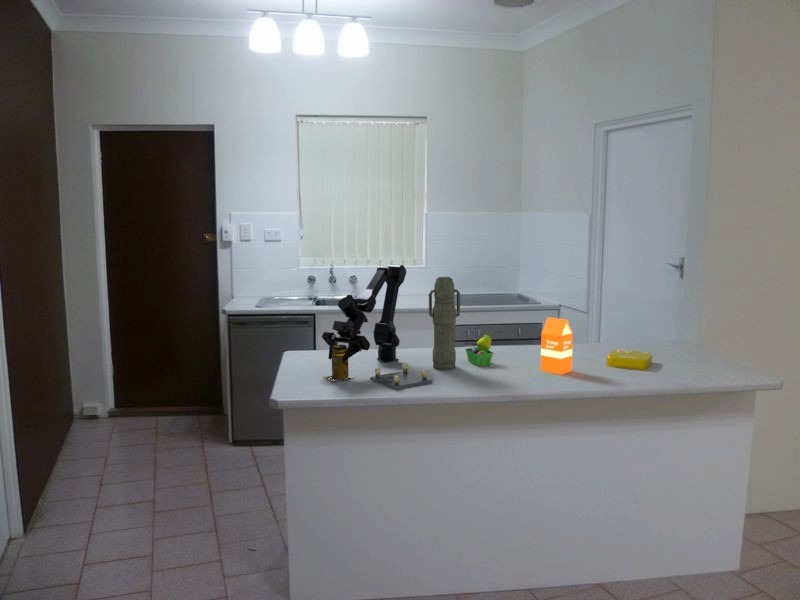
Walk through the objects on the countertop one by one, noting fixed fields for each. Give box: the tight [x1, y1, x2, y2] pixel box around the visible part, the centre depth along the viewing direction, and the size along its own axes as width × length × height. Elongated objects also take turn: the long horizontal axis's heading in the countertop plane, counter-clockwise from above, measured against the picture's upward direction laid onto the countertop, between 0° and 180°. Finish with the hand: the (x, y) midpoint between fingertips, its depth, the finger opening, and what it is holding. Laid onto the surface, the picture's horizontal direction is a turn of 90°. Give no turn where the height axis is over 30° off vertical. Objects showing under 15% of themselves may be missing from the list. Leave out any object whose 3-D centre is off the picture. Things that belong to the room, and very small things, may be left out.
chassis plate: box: [369, 363, 433, 391], centre depth 241 cm, size 16×16×4 cm
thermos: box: [428, 276, 461, 371], centre depth 259 cm, size 9×12×35 cm
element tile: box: [606, 348, 653, 371], centre depth 264 cm, size 15×15×5 cm
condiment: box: [323, 344, 353, 382], centre depth 246 cm, size 7×8×12 cm
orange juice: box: [540, 317, 574, 376], centre depth 254 cm, size 8×9×20 cm
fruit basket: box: [464, 334, 494, 367], centre depth 267 cm, size 11×9×11 cm
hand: (336, 359), depth 244 cm, fingers open, 6 cm apart
